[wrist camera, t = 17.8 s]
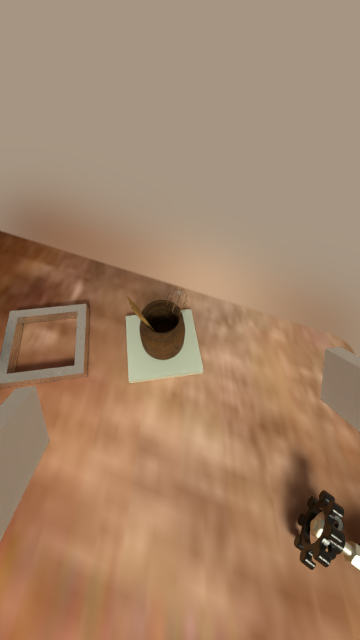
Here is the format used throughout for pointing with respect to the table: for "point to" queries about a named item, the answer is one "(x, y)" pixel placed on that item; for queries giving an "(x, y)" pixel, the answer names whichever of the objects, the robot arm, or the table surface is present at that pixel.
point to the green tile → (154, 369)
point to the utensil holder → (161, 328)
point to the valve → (324, 534)
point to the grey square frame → (4, 366)
